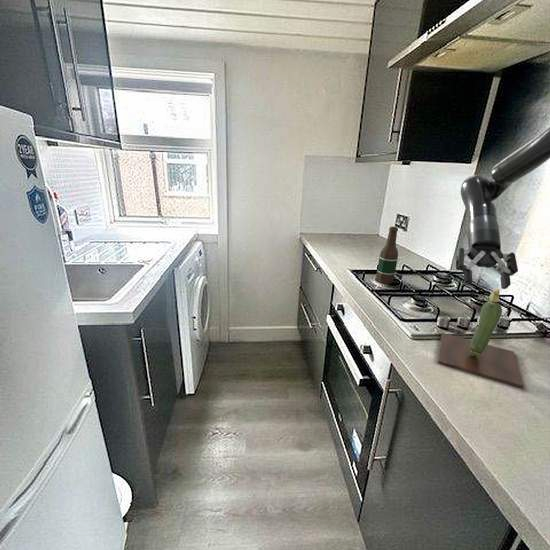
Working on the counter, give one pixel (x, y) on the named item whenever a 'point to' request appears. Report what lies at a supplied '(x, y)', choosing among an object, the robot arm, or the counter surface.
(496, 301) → the vegetable
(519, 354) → the counter surface
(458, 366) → the board
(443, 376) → the counter surface
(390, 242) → the beer bottle
